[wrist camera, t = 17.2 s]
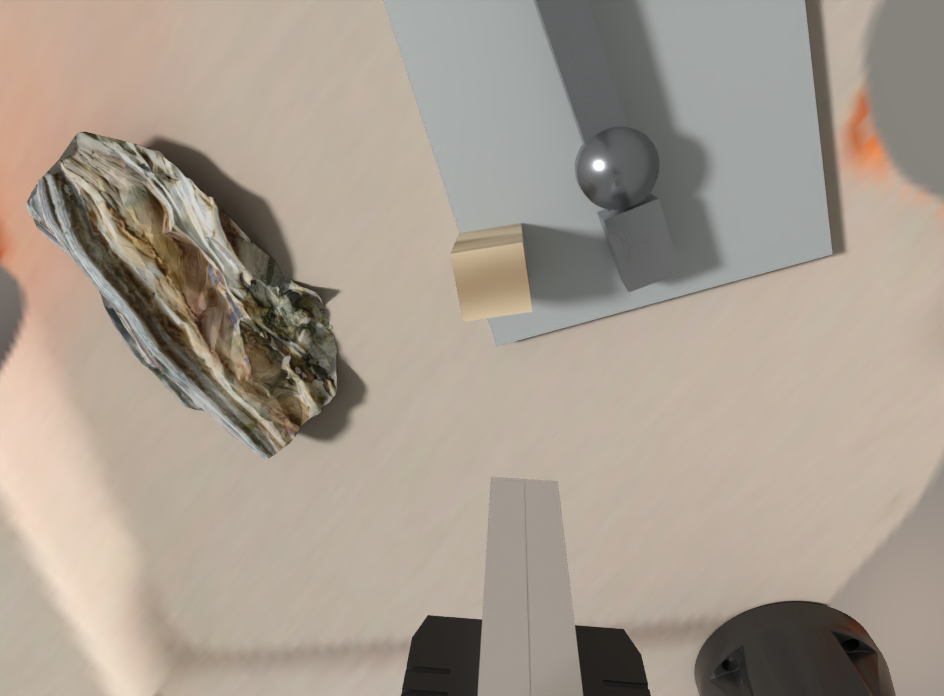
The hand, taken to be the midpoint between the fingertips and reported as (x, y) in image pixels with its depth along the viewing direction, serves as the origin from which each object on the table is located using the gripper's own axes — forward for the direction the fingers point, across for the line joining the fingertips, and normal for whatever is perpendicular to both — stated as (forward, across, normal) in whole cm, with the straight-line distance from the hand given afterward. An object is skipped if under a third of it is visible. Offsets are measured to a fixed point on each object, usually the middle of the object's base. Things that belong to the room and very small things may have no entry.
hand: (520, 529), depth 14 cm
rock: (+29, -22, -4) cm, 36 cm away
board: (+28, +5, +9) cm, 30 cm away
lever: (+26, +3, +10) cm, 28 cm away
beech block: (+27, -1, 0) cm, 27 cm away
